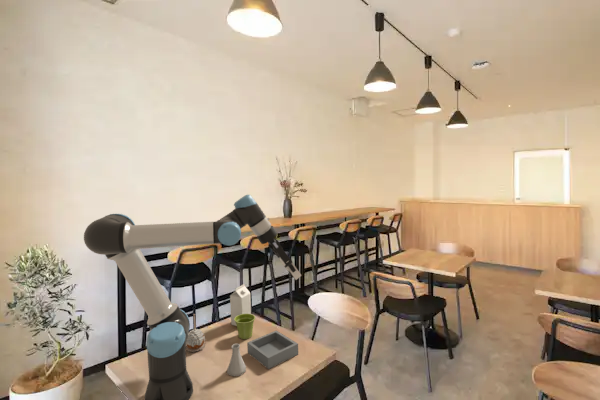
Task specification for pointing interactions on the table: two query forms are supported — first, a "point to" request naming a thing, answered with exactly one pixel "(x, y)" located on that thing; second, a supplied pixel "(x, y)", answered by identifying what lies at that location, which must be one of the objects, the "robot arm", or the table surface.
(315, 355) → the table surface
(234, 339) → the table surface
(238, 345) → the flask
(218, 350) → the table surface
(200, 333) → the decorative ornament
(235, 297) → the milk carton
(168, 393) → the robot arm
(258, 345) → the open box
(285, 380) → the table surface
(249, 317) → the plant pot
